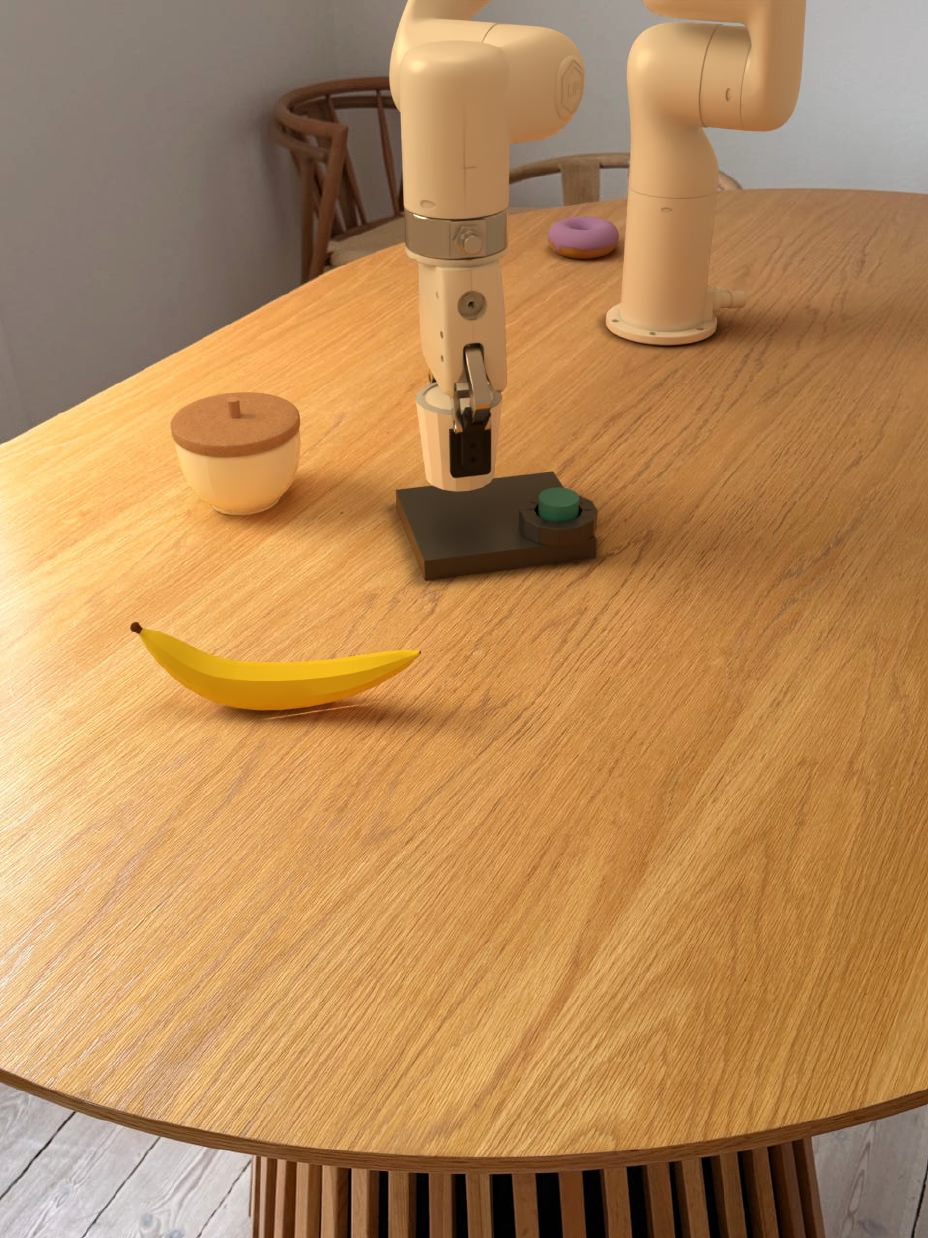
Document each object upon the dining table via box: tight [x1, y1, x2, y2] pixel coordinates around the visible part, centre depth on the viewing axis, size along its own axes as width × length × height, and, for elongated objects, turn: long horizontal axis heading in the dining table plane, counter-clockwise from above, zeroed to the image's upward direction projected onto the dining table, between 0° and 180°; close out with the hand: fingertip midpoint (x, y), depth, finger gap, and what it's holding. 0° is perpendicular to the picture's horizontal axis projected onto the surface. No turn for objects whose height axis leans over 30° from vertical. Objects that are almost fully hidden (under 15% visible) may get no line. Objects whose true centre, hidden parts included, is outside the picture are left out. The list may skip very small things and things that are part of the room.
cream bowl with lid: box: [170, 391, 301, 516], centre depth 103 cm, size 11×11×9 cm
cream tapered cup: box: [414, 382, 503, 491], centre depth 97 cm, size 7×7×7 cm
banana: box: [129, 621, 422, 711], centre depth 80 cm, size 3×19×6 cm, turn 86°
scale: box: [395, 470, 599, 582], centre depth 100 cm, size 15×12×4 cm
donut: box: [547, 215, 620, 260], centre depth 162 cm, size 10×9×5 cm
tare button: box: [538, 487, 580, 522], centre depth 97 cm, size 3×3×2 cm
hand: (459, 451), depth 98 cm, fingers closed on cream tapered cup, 6 cm apart
